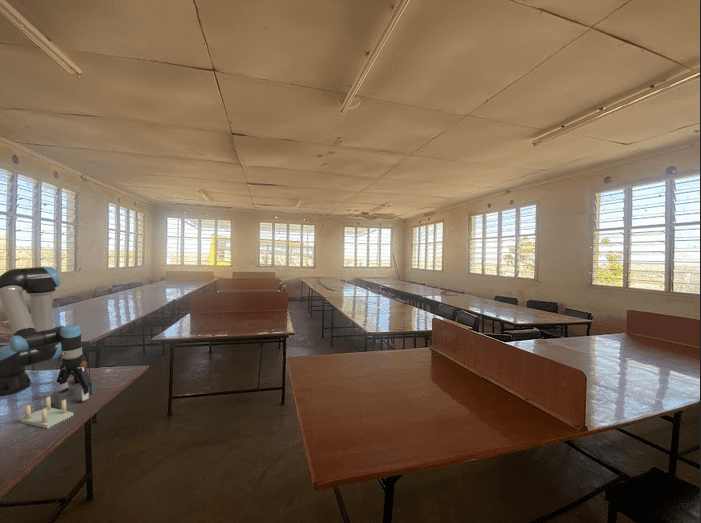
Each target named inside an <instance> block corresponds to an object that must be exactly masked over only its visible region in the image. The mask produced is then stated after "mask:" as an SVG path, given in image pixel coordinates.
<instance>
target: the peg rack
mask: <svg viewBox="0 0 701 523" xmlns="http://www.w3.org/2000/svg"><path fill="white" fill-rule="evenodd" d="M61 405H62V408H61V409H56V408H53V407H52V402H51V396H46V397H45V407H43V408H41V409H39V410H37V411H34V412H32V408H31V404H26V405H25V406H24V408H25V410H24V411H25V416H23V417H21V418H19V423H21V422H22V424H26V425H31V426H35V427H37V428H38V427H39V428H42V427H43V428H42V429H46V428H47V430H48V429H50V428H52V427H54V426H55V424H56V425H58V424H60V423H61V421H62V422H64V421H66V420H68V419H70V418H72V417H73V415H74V412H72V411H68V410H67V409H68V408H67V407H68V406H66V399H65V400H62V401H61ZM71 416H72V417H71ZM69 417H70V418H69ZM67 418H68V419H67ZM65 419H66V420H65ZM63 420H64V421H63ZM59 422H60V423H59ZM57 423H58V424H57ZM53 425H54V426H53ZM51 426H52V427H51Z"/></svg>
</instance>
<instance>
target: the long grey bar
mask: <svg viewBox="0 0 701 523" xmlns="http://www.w3.org/2000/svg"><path fill="white" fill-rule="evenodd" d="M92 379H93V378H91V377H90V380H91V383H92V385H90V386H89V387H88V389H89V392H88V394H89V396H93V395H95V394H97V393H99V389H98V386H99V385H98V384H99V383H98V378H97V379H93V380H92ZM81 388H82V386H81V385H80V383H78V384H73V385H71V386H68V388H66V389H63V390H61V389H60V390H59V391H56V392H55V393H52V406H53V407H52V408H54V409H59V410H62V405H61V401H62V400H65V399H66V407H68V406H70V405H72V404H74V403H76V402H78V401H80V400H82V397H81ZM71 403H72V404H71ZM69 404H70V405H69ZM67 405H68V406H67Z"/></svg>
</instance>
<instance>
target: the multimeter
mask: <svg viewBox="0 0 701 523" xmlns="http://www.w3.org/2000/svg"><path fill="white" fill-rule="evenodd" d="M82 354H84V355H85V357H86V360H83V362H82V363H81V364H80V366H81V367H86V371H87V372H88V373H89V374H88V376H89V378H91V377H90V376H91V375H90V374H91V368H90V362H89V359H88V357H87V354H86V353H85V352H84V351H83V350H82ZM87 364H88V369H87ZM72 378H73V381H71V379H72ZM93 379H97V380H98V377H94V378H92V380H93ZM69 382H70V383H73V385H75V384H78V383H79V382H78V380H77V378H76V377H74V376H72V375H70V377H69Z"/></svg>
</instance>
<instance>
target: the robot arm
mask: <svg viewBox="0 0 701 523" xmlns="http://www.w3.org/2000/svg"><path fill="white" fill-rule="evenodd" d="M60 284H61V280H60V276H59V273H58V272H57V270H56V269H55V268H54V267H52V266H38V267H37V266H36V267H26V268H25V267H24V268H14V269H13V268H12V269H9V270H8V271H7V270H6V271H5V272H4V273H2V274H1V275H0V302H1V304H2V308H3V310H4V312H5V316H6V318H7V321H8V324H9V327H10V330H11V333H12V336H10V338H9V339H8V344H7V345H4V346H1V347H0V397H2V396H9V395H12V394H16V393H19V392H21V391H24V390H27V389H28V388H30V387H31V385H32V381H31V378H30V376H29V375H28V373H27V372H26V367H30V366H33V365H37V364H40V363H44V362H50V361H52V360H55V359H58V358H59V357H60V356H61V358H62V360H61V362H62V365H60V367H59V372H58V375H57V379H56V383H59V385H60V391H61V390H63V389H66V388H68V387H69V382H68V380H69V379H70V378H71V376H72V377H73V376H74V377H76V378H77V380H78V382H79V383H80V385H81V386H82V388H81V397H82V399H81V402H84V401H86V400H88V399H90V397H89V396H90V395H89V394H88V392H89V389H88V387H89V386H90V385H92V383H91V380H90V378H91V377H90V378H89V374H88V373H89V372H88V370H87V371H86V367H81V366H80V364H81V363H82V362H83V361H84V359H83V352H82V351H83V347H82V346H83V345H82V344H83V343H82V329H81V326H80V325H79V324H69V325H57V326H54V314H53V313H54V312H53V310H54V309H53V293H55V291H56V288H58V287H59V286H60ZM24 291H25V293H26V294H28V295H29V299H30V301H29V302H30V311H29V308H28V306H27V304H26V301H25V299H24V296H23V292H24Z"/></svg>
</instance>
